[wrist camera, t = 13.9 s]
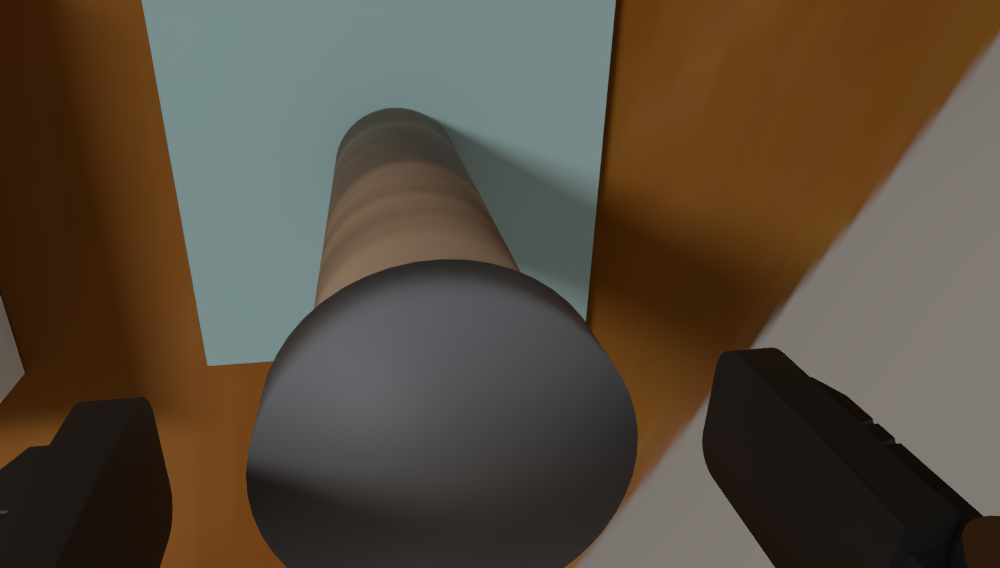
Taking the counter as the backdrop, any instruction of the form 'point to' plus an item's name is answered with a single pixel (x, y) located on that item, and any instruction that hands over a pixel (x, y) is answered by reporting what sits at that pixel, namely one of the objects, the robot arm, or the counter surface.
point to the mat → (347, 98)
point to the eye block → (8, 357)
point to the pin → (433, 384)
